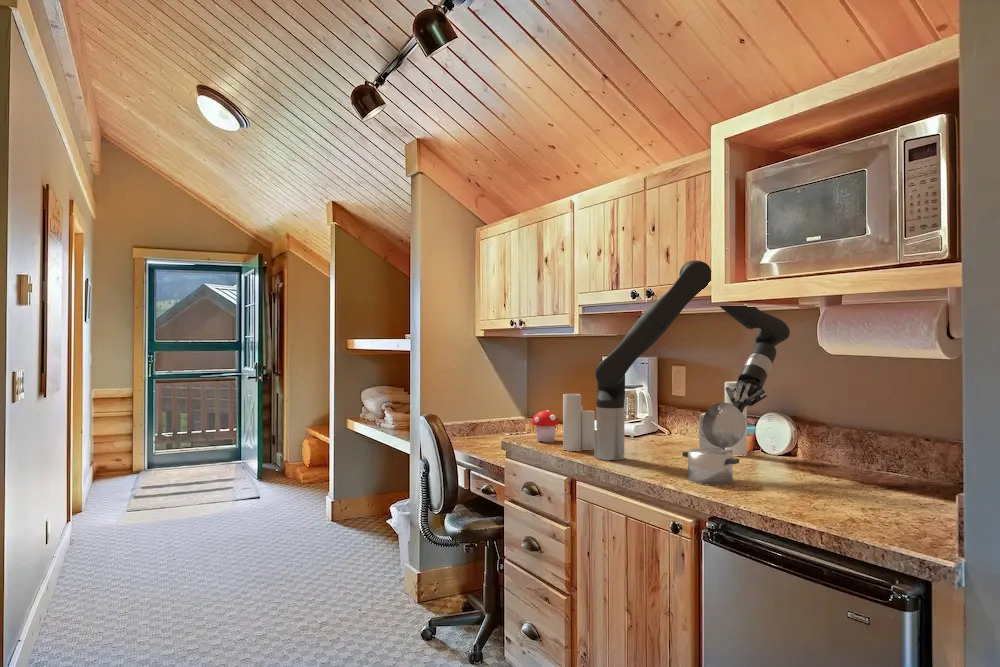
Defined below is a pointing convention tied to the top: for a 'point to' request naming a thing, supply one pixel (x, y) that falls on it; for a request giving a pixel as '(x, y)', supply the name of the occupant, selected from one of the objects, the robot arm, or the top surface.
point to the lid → (723, 425)
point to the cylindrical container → (742, 444)
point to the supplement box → (702, 439)
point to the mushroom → (545, 425)
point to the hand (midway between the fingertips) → (735, 414)
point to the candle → (577, 424)
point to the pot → (710, 466)
